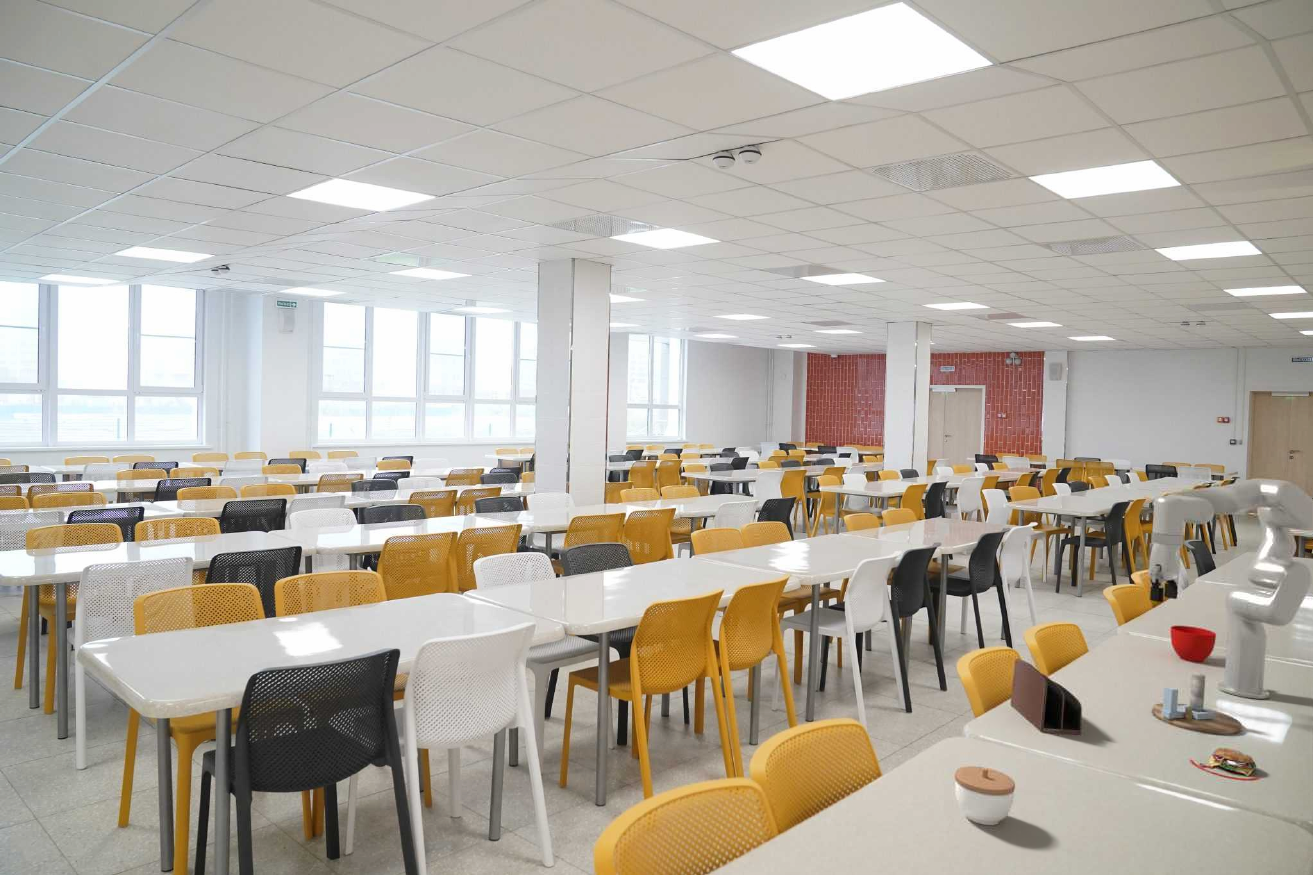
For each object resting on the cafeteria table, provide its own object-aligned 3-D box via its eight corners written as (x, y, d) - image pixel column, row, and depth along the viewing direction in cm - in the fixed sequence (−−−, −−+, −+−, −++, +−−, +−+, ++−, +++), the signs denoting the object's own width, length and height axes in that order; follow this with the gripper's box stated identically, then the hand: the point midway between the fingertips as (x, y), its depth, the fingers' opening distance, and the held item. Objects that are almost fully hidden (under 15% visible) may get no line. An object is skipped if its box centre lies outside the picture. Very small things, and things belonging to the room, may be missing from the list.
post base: (1169, 702, 237) (1172, 659, 237) (1253, 725, 222) (1256, 679, 221) (1139, 715, 225) (1142, 670, 225) (1225, 740, 209) (1228, 691, 209)
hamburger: (1197, 752, 202) (1198, 727, 202) (1268, 771, 192) (1270, 745, 192) (1181, 766, 192) (1183, 740, 192) (1256, 787, 182) (1257, 760, 182)
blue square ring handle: (1194, 710, 227) (1196, 682, 227) (1215, 718, 221) (1216, 689, 221) (1155, 712, 223) (1156, 684, 223) (1174, 721, 217) (1176, 692, 217)
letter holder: (1040, 733, 209) (1044, 676, 208) (1010, 705, 228) (1013, 654, 228) (1081, 735, 208) (1085, 679, 208) (1047, 708, 228) (1050, 656, 228)
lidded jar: (943, 804, 166) (946, 757, 166) (995, 804, 167) (998, 757, 166) (968, 831, 155) (971, 780, 155) (1023, 831, 156) (1026, 781, 156)
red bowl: (1213, 656, 291) (1215, 628, 291) (1214, 667, 277) (1216, 637, 277) (1169, 649, 298) (1171, 621, 298) (1168, 660, 284) (1170, 630, 284)
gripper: (1165, 536, 249) (1161, 594, 249) (1140, 539, 238) (1136, 599, 238) (1193, 540, 243) (1190, 599, 243) (1169, 543, 232) (1165, 605, 233)
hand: (1163, 599), depth 241 cm, fingers open, 9 cm apart
